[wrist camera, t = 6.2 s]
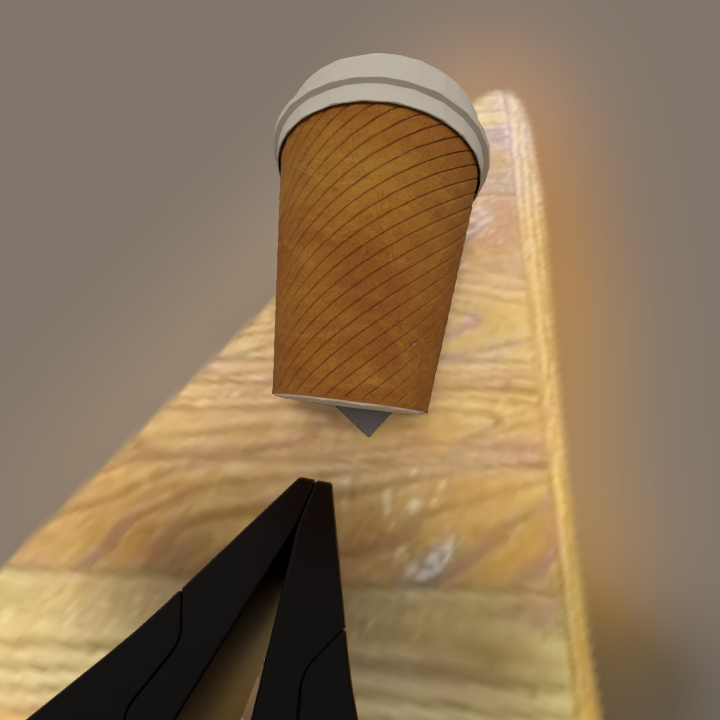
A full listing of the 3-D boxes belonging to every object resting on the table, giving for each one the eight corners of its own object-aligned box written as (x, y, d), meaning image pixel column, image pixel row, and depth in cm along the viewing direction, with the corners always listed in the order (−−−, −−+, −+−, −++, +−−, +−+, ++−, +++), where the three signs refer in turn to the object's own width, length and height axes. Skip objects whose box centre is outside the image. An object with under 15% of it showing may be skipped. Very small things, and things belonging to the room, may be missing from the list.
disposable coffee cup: (496, 424, 16) (511, 182, 18) (402, 405, 8) (447, -24, 10) (328, 406, 21) (354, 219, 23) (174, 383, 13) (231, 104, 15)
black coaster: (422, 379, 18) (422, 378, 18) (368, 437, 18) (368, 437, 17) (365, 330, 19) (364, 328, 19) (312, 383, 19) (311, 382, 18)
